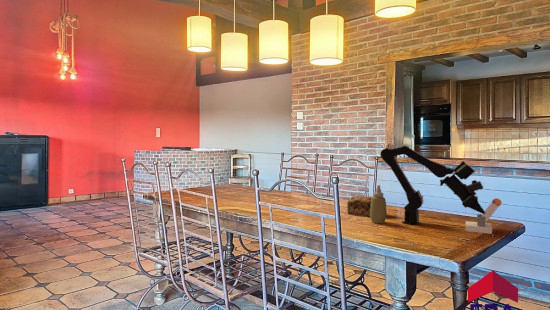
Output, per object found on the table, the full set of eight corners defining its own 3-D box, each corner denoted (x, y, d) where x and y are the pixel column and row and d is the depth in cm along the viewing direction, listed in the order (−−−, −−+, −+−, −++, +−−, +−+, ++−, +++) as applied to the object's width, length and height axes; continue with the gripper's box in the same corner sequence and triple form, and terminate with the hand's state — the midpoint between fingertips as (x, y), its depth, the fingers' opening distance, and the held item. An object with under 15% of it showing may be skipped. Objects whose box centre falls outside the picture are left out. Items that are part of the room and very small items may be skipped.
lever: (476, 222, 163) (495, 197, 159) (475, 219, 168) (495, 196, 164) (483, 227, 162) (504, 202, 158) (483, 224, 166) (502, 200, 162)
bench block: (465, 231, 163) (466, 216, 163) (465, 226, 172) (466, 212, 172) (491, 233, 158) (492, 218, 158) (490, 229, 167) (490, 214, 167)
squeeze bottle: (377, 224, 175) (378, 186, 174) (365, 221, 182) (366, 185, 181) (390, 223, 178) (390, 185, 178) (378, 219, 186) (379, 184, 185)
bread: (386, 215, 199) (386, 196, 198) (380, 218, 190) (380, 199, 189) (353, 211, 209) (353, 193, 208) (346, 214, 200) (346, 196, 199)
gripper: (471, 176, 157) (501, 204, 153) (471, 173, 174) (497, 198, 169) (450, 193, 161) (479, 221, 157) (452, 188, 178) (477, 213, 173)
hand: (484, 213), depth 164 cm, fingers closed, pressing on lever
